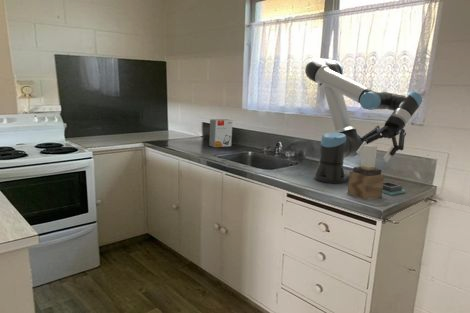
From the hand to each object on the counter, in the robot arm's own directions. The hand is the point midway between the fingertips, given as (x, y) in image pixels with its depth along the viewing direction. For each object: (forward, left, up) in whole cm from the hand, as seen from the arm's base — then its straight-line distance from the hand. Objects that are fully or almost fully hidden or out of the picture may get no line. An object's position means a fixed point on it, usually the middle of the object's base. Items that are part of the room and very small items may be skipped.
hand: (370, 157), depth 146 cm
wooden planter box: (-1, -1, -17) cm, 17 cm away
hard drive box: (-110, -70, -17) cm, 131 cm away
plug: (-1, -1, -7) cm, 7 cm away
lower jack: (-9, +13, -17) cm, 24 cm away
